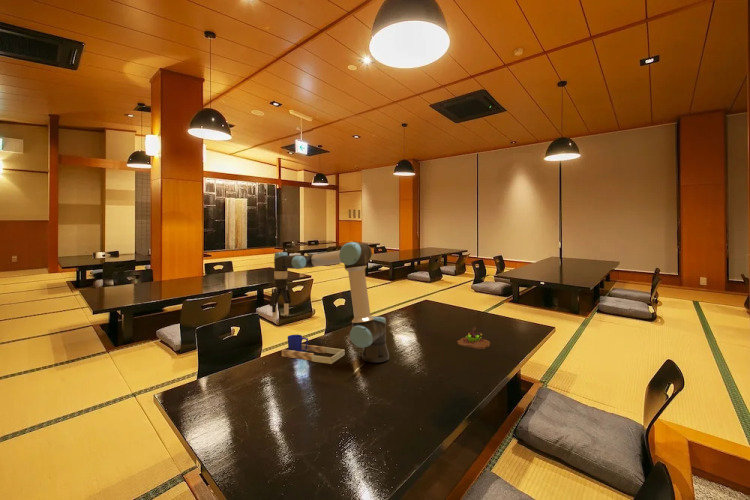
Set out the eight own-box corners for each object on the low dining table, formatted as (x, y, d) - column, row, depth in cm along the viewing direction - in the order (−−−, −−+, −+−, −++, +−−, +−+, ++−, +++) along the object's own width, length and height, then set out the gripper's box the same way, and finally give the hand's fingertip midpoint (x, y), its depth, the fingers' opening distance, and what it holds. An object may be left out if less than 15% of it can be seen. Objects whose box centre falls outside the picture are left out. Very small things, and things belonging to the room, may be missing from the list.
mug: (304, 356, 181) (304, 338, 181) (284, 355, 183) (284, 337, 183) (310, 352, 189) (310, 335, 189) (291, 350, 191) (291, 334, 191)
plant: (493, 344, 207) (493, 326, 207) (486, 352, 191) (486, 333, 191) (463, 339, 218) (463, 323, 218) (453, 346, 202) (453, 328, 202)
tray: (344, 354, 184) (344, 349, 184) (331, 363, 169) (331, 358, 169) (326, 352, 188) (326, 347, 188) (311, 361, 173) (311, 355, 173)
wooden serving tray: (325, 352, 187) (325, 346, 187) (312, 360, 174) (312, 354, 174) (296, 349, 195) (296, 343, 195) (281, 356, 181) (281, 350, 181)
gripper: (287, 276, 202) (287, 312, 202) (262, 279, 181) (262, 319, 181) (297, 277, 199) (297, 313, 199) (273, 280, 178) (273, 320, 178)
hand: (280, 316), depth 190 cm, fingers open, 10 cm apart
